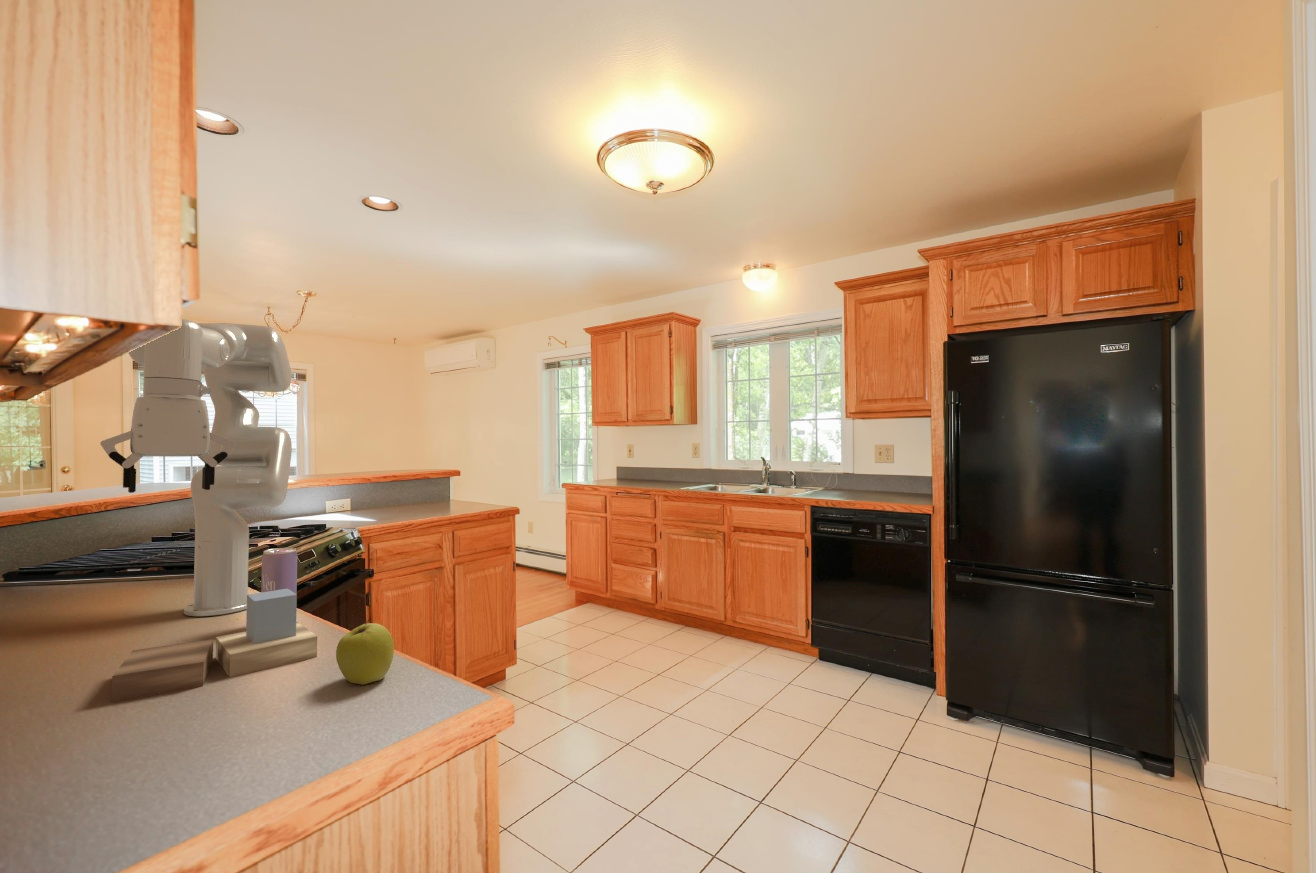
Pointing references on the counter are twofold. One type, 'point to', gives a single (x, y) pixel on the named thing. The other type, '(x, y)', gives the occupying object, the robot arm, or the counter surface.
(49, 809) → the counter surface
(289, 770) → the counter surface
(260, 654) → the maple plinth
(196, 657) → the walnut plinth
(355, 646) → the apple
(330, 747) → the counter surface
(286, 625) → the grey block
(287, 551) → the beverage can
